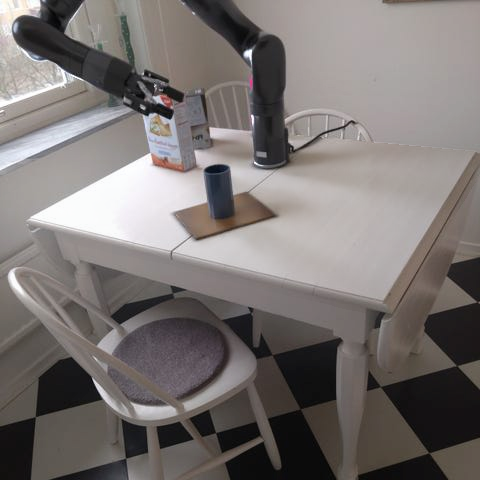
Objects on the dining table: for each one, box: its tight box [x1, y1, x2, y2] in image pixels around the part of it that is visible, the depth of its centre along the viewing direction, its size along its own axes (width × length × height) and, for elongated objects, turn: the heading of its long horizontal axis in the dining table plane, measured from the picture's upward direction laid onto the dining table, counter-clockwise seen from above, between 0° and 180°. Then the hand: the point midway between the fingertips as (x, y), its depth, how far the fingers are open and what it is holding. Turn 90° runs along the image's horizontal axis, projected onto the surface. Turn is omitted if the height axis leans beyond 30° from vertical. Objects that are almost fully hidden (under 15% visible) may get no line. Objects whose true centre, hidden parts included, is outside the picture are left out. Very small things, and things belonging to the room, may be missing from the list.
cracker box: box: [140, 89, 198, 173], centre depth 143 cm, size 14×6×21 cm, turn 49°
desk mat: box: [173, 191, 276, 241], centre depth 119 cm, size 20×16×1 cm
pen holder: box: [202, 163, 235, 219], centre depth 116 cm, size 6×6×11 cm
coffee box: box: [184, 87, 212, 150], centre depth 158 cm, size 9×6×16 cm
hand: (178, 106), depth 109 cm, fingers open, 8 cm apart
